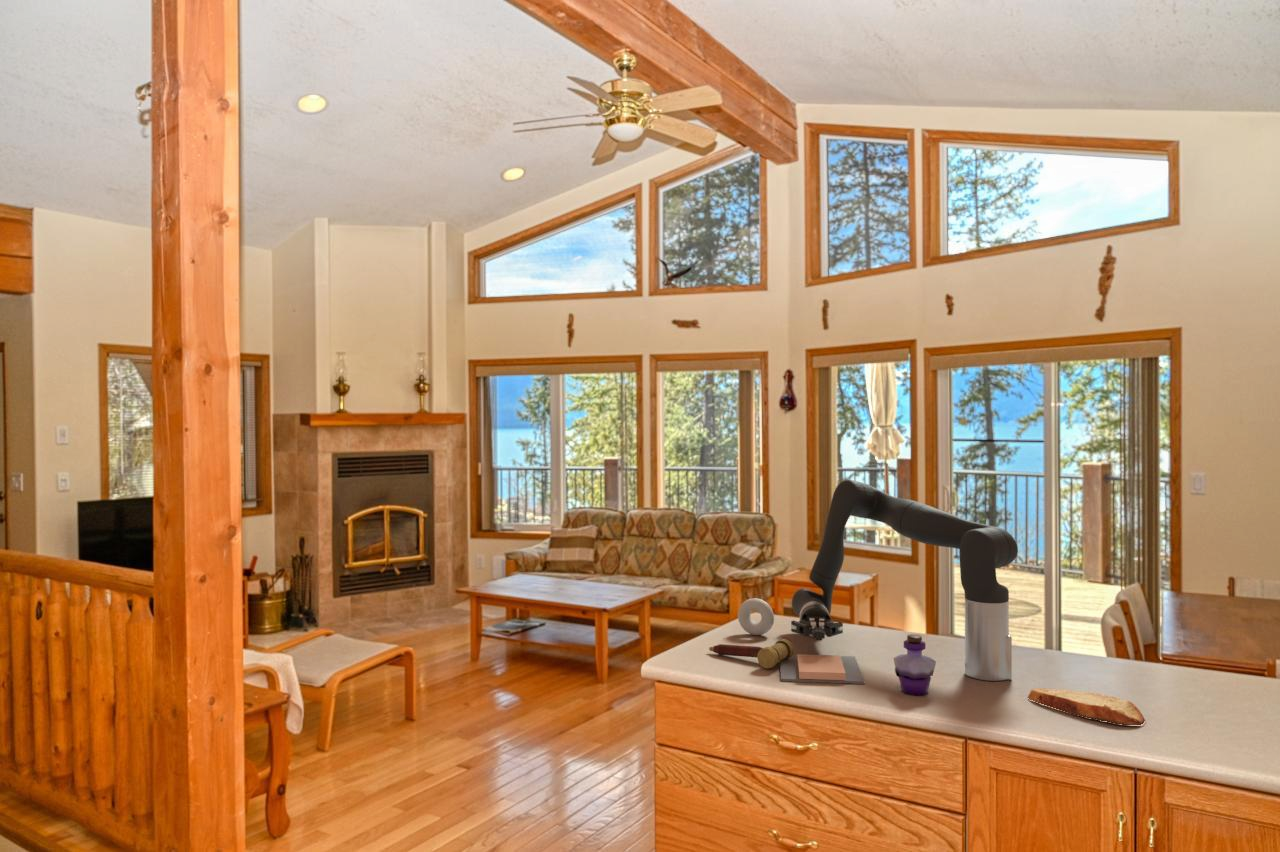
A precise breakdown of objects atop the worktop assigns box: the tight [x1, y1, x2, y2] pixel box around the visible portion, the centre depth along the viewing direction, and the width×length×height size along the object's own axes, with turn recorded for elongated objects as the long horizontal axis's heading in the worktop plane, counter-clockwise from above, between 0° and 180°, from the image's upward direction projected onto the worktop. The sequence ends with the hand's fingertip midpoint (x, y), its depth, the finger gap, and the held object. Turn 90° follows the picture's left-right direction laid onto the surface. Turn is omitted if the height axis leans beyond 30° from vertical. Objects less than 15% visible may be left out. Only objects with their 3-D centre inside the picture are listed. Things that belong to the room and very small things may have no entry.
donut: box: [737, 597, 775, 636], centre depth 231 cm, size 10×4×10 cm, turn 65°
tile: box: [796, 653, 846, 680], centre depth 196 cm, size 10×2×14 cm
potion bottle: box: [892, 634, 937, 697], centre depth 183 cm, size 9×9×12 cm
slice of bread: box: [1027, 688, 1146, 725], centre depth 171 cm, size 18×18×4 cm
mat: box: [779, 653, 865, 685], centre depth 199 cm, size 18×20×1 cm
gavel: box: [708, 638, 795, 669], centre depth 208 cm, size 21×5×10 cm
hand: (819, 636), depth 201 cm, fingers closed
